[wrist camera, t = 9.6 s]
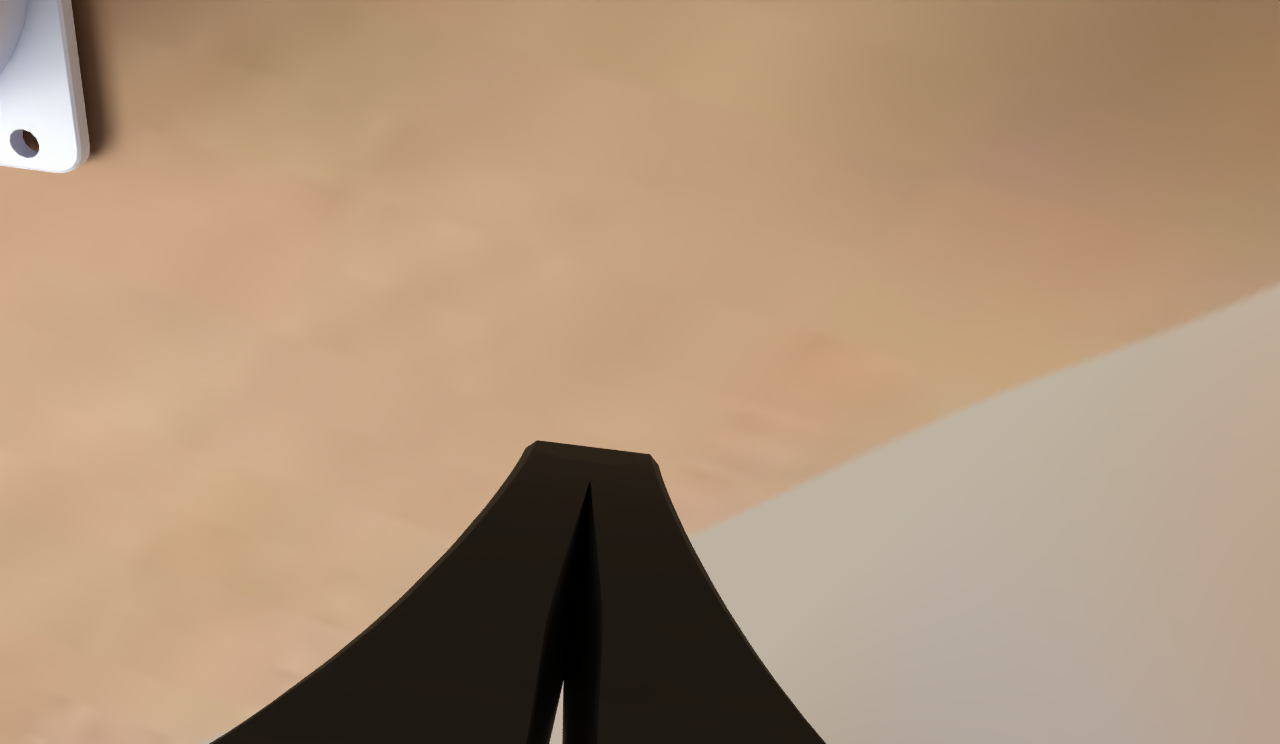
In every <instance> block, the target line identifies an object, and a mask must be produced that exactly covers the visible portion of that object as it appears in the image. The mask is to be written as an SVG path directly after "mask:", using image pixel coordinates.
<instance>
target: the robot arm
mask: <svg viewBox="0 0 1280 744" xmlns="http://www.w3.org/2000/svg"><path fill="white" fill-rule="evenodd" d="M23 130H26V131H29V132H31V133H32V134H33V135H34V136H35V137H36V138H37V141H38V143H39V152H36V151H34V150H31V149H30V148H29V147H28V146H27V145H26V144H25V141H24V139H23V137H22V136H23ZM89 154H90V142H89V135H88V127H87V119H86V111H85V104H84V96H83V88H82V81H81V73H80V65H79V57H78V50H77V42H76V34H75V26H74V19H73V11H72V3H71V0H0V166H8V167H15V168H23V169H30V170H37V171H45V172H52V173H68V172H70V171H72V170H74V169H76V168H78V167H80V166H82V165H84V164H85V162H86V161H87V159H88V158H89ZM563 680H564V689H563V744H826V743H825V742H824V741H823V740H822V738H821V737H820V736H819V735H818V734H817V732H816V731H815V730H814V729H813V728H812V726H811V725H810V724H809V723H808V722H807V721H806V719H805V718H804V717H803V716H802V714H801V713H800V712H799V710H798V709H797V708H796V706H795V705H794V704H793V703H792V701H791V700H790V699H789V698H788V696H787V695H786V694H785V692H784V691H783V690H782V688H781V687H780V686H779V684H778V683H777V682H776V681H775V679H774V678H773V676H772V675H771V674H770V672H769V671H768V669H767V668H766V667H765V665H764V664H763V662H762V661H761V660H760V658H759V657H758V655H757V654H756V652H755V651H754V649H753V648H752V646H751V645H750V643H749V642H748V641H747V639H746V637H745V636H744V634H743V633H742V631H741V629H740V628H739V626H738V625H737V623H736V622H735V620H734V618H733V617H732V615H731V614H730V612H729V611H728V609H727V608H726V606H725V604H724V602H723V601H722V599H721V597H720V595H719V594H718V592H717V590H716V589H715V587H714V585H713V583H712V582H711V580H710V578H709V576H708V574H707V572H706V570H705V569H704V567H703V565H702V563H701V561H700V559H699V558H698V556H697V554H696V552H695V550H694V548H693V547H692V544H691V542H690V540H689V538H688V536H687V534H686V532H685V530H684V528H683V526H682V524H681V522H680V520H679V517H678V515H677V513H676V511H675V509H674V506H673V504H672V502H671V499H670V497H669V494H668V492H667V489H666V487H665V484H664V481H663V478H662V476H661V473H660V469H659V466H658V464H657V463H656V461H655V460H654V459H653V458H652V456H651V455H650V454H643V453H635V452H627V451H619V450H610V449H602V448H594V447H586V446H578V445H570V444H562V443H554V442H546V441H538V440H537V441H536V442H534V443H533V444H531V445H530V446H528V447H527V448H526V449H525V450H524V452H523V454H522V456H521V458H520V460H519V461H518V463H517V464H516V466H515V467H514V469H513V471H512V472H511V473H510V475H509V476H508V478H507V479H506V481H505V482H504V483H503V485H502V486H501V487H500V489H499V490H498V491H497V493H496V494H495V495H494V496H493V498H492V499H491V500H490V502H489V503H488V504H487V506H486V507H485V508H484V509H483V510H482V511H481V513H480V514H479V515H478V516H477V517H476V519H475V520H474V521H473V522H472V523H471V524H470V526H469V527H468V528H467V529H466V530H465V531H464V533H463V534H462V535H461V536H460V537H459V538H458V540H457V541H456V542H455V543H454V544H453V545H452V546H451V547H450V549H449V550H448V551H447V552H446V553H445V554H444V555H443V556H442V557H441V558H440V559H439V560H438V561H437V562H436V563H435V564H434V565H433V566H432V567H431V568H430V569H429V570H428V571H427V572H426V573H425V574H424V575H423V576H422V577H421V578H420V579H419V580H418V581H417V582H416V583H415V584H414V585H413V586H412V587H411V588H410V589H409V590H408V591H407V592H406V593H405V594H404V595H403V596H402V597H401V598H400V599H399V600H398V601H397V602H396V603H395V604H394V605H392V606H391V607H390V608H389V609H388V610H387V611H386V612H385V613H384V614H383V615H381V616H380V617H379V618H378V619H377V620H376V621H375V622H374V623H372V624H371V625H370V626H369V627H368V628H367V629H366V630H364V631H363V632H362V633H361V634H360V635H358V636H357V637H356V638H355V639H354V640H352V641H351V642H350V643H349V644H348V645H346V646H345V647H344V648H343V649H342V650H340V651H339V652H338V653H337V654H335V655H334V656H333V657H332V658H330V659H329V660H328V661H327V662H325V663H324V664H323V665H321V666H320V667H319V668H317V669H316V670H315V671H313V672H312V673H311V674H309V675H308V676H307V677H305V678H304V679H303V680H301V681H300V682H299V683H297V684H296V685H295V686H293V687H292V688H290V689H289V690H288V691H286V692H285V693H284V694H282V695H281V696H280V697H278V698H277V699H276V700H274V701H273V702H272V703H270V704H269V705H267V706H266V707H264V708H263V709H262V710H260V711H259V712H257V713H256V714H254V715H253V716H251V717H250V718H249V719H247V720H246V721H244V722H243V723H241V724H240V725H238V726H237V727H235V728H234V729H232V730H231V731H229V732H228V733H226V734H224V735H223V736H221V737H220V738H218V739H216V740H215V741H213V742H211V743H210V744H549V742H550V738H551V733H552V729H553V724H554V720H555V715H556V711H557V707H558V702H559V698H560V693H561V689H562V684H563Z"/></svg>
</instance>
